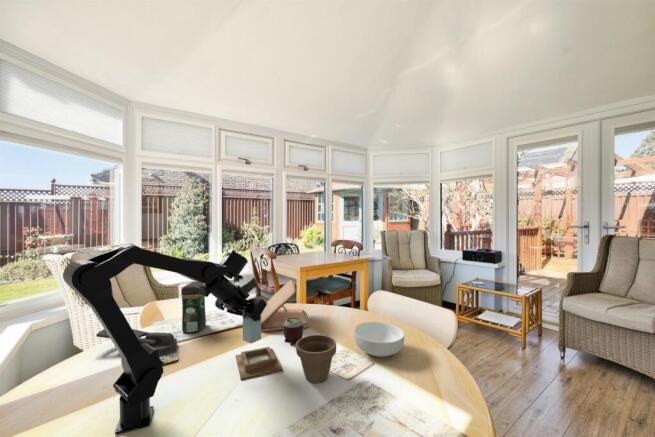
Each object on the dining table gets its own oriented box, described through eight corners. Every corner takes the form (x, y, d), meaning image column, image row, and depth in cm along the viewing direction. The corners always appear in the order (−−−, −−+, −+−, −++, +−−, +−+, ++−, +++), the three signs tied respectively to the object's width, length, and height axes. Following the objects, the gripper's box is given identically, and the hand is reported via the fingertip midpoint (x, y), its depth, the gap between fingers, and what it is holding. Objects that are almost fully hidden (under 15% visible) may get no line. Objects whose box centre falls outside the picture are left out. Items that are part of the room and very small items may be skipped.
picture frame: (282, 370, 87) (282, 362, 87) (240, 380, 83) (240, 371, 83) (272, 350, 100) (272, 342, 100) (235, 357, 96) (235, 349, 96)
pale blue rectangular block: (251, 343, 90) (250, 301, 90) (242, 340, 93) (242, 299, 92) (261, 339, 94) (261, 298, 93) (253, 335, 96) (252, 296, 96)
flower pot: (299, 392, 77) (299, 354, 77) (293, 369, 88) (293, 336, 88) (341, 385, 80) (341, 349, 80) (330, 364, 91) (330, 332, 91)
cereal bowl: (381, 370, 88) (381, 347, 87) (343, 349, 101) (343, 329, 100) (414, 352, 98) (414, 332, 98) (376, 336, 111) (376, 317, 111)
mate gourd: (304, 337, 110) (304, 298, 109) (300, 347, 102) (300, 305, 101) (284, 337, 110) (284, 297, 110) (279, 346, 103) (279, 304, 102)
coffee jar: (188, 324, 123) (187, 280, 122) (208, 323, 123) (207, 279, 123) (178, 334, 113) (177, 286, 112) (199, 333, 114) (199, 285, 113)
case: (259, 314, 135) (258, 280, 134) (304, 311, 138) (304, 277, 138) (256, 333, 114) (256, 293, 114) (310, 329, 118) (310, 290, 118)
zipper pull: (113, 323, 106) (180, 325, 105) (113, 341, 107) (180, 343, 105) (92, 334, 98) (165, 336, 96) (93, 354, 98) (165, 356, 97)
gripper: (261, 272, 84) (289, 301, 93) (223, 264, 95) (251, 291, 104) (238, 306, 78) (270, 334, 87) (200, 294, 89) (231, 319, 98)
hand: (255, 317), depth 94 cm, fingers closed on pale blue rectangular block, 4 cm apart
